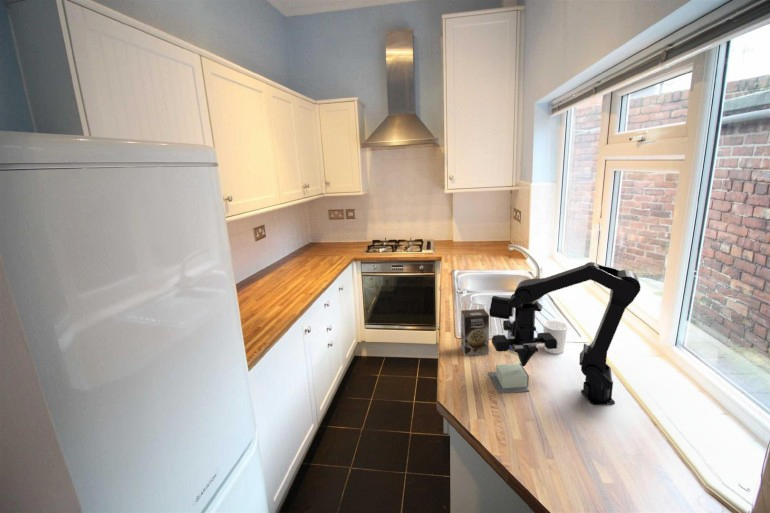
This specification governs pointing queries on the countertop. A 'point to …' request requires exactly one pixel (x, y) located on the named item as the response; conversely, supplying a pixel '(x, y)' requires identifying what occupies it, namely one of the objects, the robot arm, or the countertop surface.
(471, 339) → the brown cookie box
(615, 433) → the countertop surface
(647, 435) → the countertop surface
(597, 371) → the robot arm
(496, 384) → the mat
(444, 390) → the countertop surface
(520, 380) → the sage block
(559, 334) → the white cup
